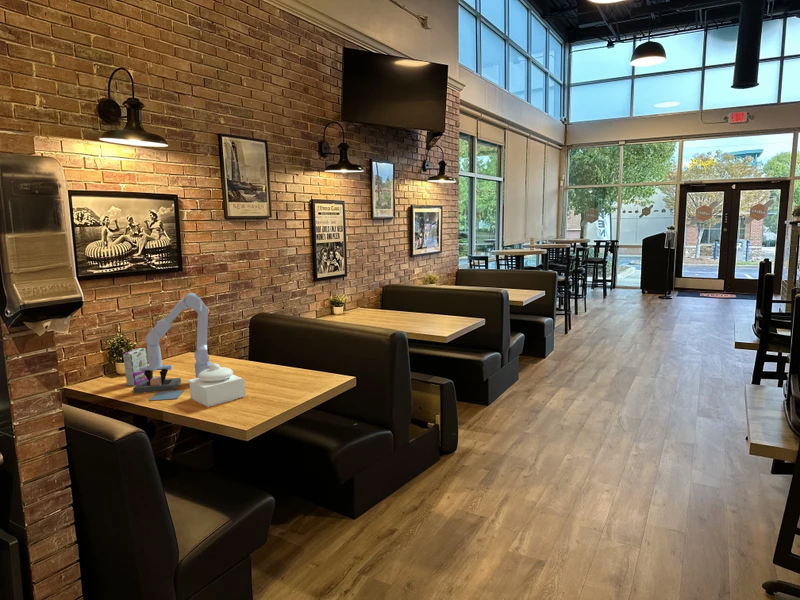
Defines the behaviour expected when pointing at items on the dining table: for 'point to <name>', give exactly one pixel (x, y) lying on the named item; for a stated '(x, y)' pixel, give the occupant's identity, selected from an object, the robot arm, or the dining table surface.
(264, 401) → the dining table surface
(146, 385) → the dark grey tray
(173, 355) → the dining table surface
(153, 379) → the coral block
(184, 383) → the dining table surface
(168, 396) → the rubber mat
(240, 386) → the white domed box
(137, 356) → the candy bar box
